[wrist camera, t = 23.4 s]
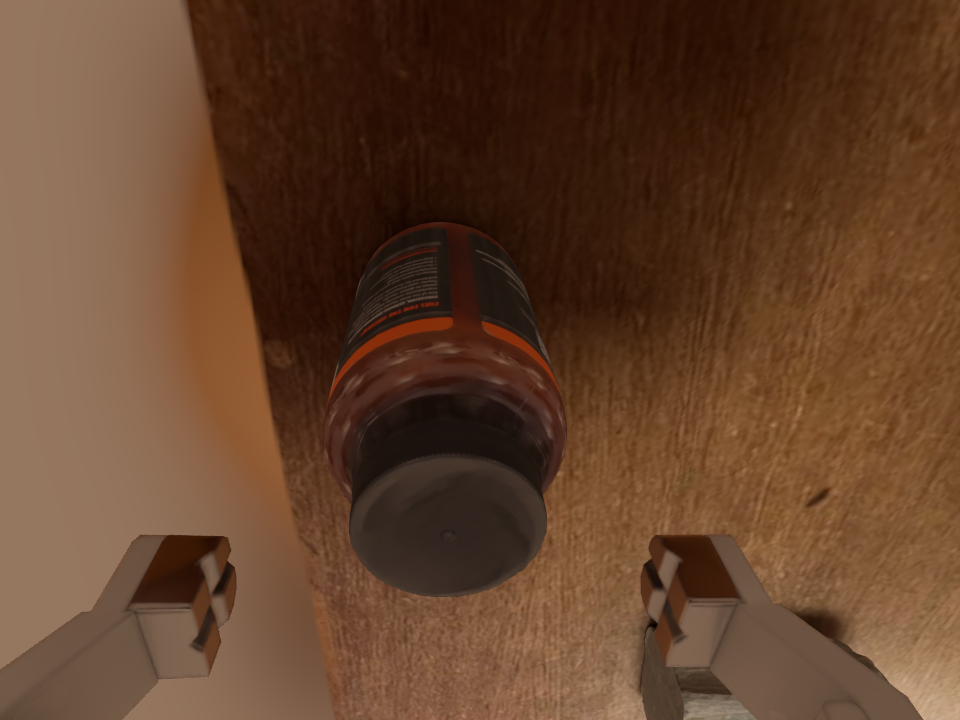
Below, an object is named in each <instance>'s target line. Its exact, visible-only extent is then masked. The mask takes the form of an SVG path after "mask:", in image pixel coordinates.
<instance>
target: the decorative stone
mask: <svg viewBox="0 0 960 720" xmlns="http://www.w3.org/2000/svg"><path fill="white" fill-rule="evenodd" d="M656 628H657V626H655V628H653V627H649V628H648V629H647V631H646V635H647V636H646V637H645V642H644V643H645V648H646V649H645V658H644V663H643V670H642V674H641V676H642V678H641V680H642V685H641V688H640V689H641V692H642V696H643V701H642V702H643V705H644V710H645V714H646V718H647V720H757V719H756V718H755V717H754V716H753V715H752V714H751V713H750V712H749V711H748V710H747V709H746V708H745V707H744V706H743V705H742V703H741V702H740V701H739V700H738V699H737V698H736V697H735V696H734V695H733V694H732V693H731V692H730V691H729V690H728V689H727V688H726V686H725V685H724V684H723V683H722V682H721V681H720V680H719V679H718V678H717V677H716V676H715V675H714V674H713V673H712V672H711V671H710V667H666V665H665V662H664V659H663V657H662V654H661V651H660V648H659V646H658V643H657V640H656V637H655V635H654V634H655V631H656ZM826 638H828V637H826ZM828 639H829V640H831V641H832V642H833V643H835V644H836V645H837V646H839V647H840V648H841V649H843V650H844V651H846V652H847V653H848V654H850V655H851V656H852V657H854V658H855V659H856V660H858V661H859V662H861V663H862V664H863V665H865V666H866V667H867V668H869V669H870V670H871V671H873V672H874V673H876V674H877V675H878V676H880V677H881V678H882V679H884V680H885V681H886V682H888V681H887V679H886V678H885V677H884V675H883V674H882V673H881V672H880V671H879V670H878V669H877V668H876V667H875V666H874V664H873V662H872V661H871V660H870V659H869V658H867V657H865V656H863V655H859V654H857V653H855V652H854V651H852V649H851V648H850V647H849V646H848V645H846V644H844V643H842V642H840V641H837V640H834V639H831V638H828ZM888 683H889V682H888ZM889 684H890V683H889Z"/></svg>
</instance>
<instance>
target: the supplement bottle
mask: <svg viewBox="0 0 960 720" xmlns="http://www.w3.org/2000/svg"><path fill="white" fill-rule="evenodd" d="M566 442H567V426H566V417H565V411H564V406H563V402H562V399H561V395H560V392H559V389H558V386H557V381H556V379H555V376H554V373H553V370H552V367H551V363H550V360H549V357H548V354H547V351H546V348H545V345H544V342H543V339H542V336H541V333H540V330H539V327H538V324H537V321H536V318H535V315H534V312H533V309H532V306H531V303H530V300H529V297H528V294H527V291H526V288H525V285H524V282H523V279H522V276H521V274H520V272H519V270H518V268H517V266H516V264H515V263H514V261H513V259H512V258H511V257H510V256H509V254H508V253H507V252H506V250H505V249H504V248H503V247H502V246H501V245H500V244H499V243H498V242H497V241H495V240H494V239H493V238H491V237H490V236H488V235H487V234H485V233H483V232H481V231H479V230H477V229H475V228H472V227H468V226H465V225H461V224H456V223H449V222H430V223H425V224H420V225H417V226H414V227H411V228H408V229H406V230H403V231H402V232H400V233H398V234H396V235H394V236H393V237H392V238H390V239H389V240H387V241H386V242H385V243H384V244H383V245H381V246H380V247H379V248H378V249H377V251H376V252H375V253H374V255H373V256H372V257H371V259H370V260H369V262H368V264H367V266H366V268H365V270H364V272H363V274H362V277H361V279H360V282H359V286H358V289H357V293H356V297H355V301H354V304H353V308H352V312H351V315H350V319H349V323H348V326H347V330H346V334H345V337H344V341H343V345H342V349H341V353H340V356H339V360H338V364H337V368H336V372H335V376H334V380H333V384H332V387H331V391H330V395H329V400H328V404H327V408H326V411H325V418H324V426H323V450H324V455H325V458H326V461H327V465H328V468H329V470H330V473H331V475H332V477H333V479H334V480H335V482H336V485H337V487H338V488H339V490H340V491H341V492H342V494H343V495H344V496H345V497H346V498H347V499H348V501H349V502H350V503H351V504H352V506H351V512H350V521H349V534H350V541H351V544H352V547H353V549H354V551H355V553H356V555H357V556H358V558H359V560H360V562H361V563H362V564H363V565H364V566H365V567H366V568H367V569H368V570H369V571H370V572H371V573H372V574H373V575H374V576H376V577H377V578H379V579H380V580H382V581H383V582H384V583H386V584H388V585H390V586H392V587H395V588H397V589H400V590H403V591H406V592H410V593H413V594H418V595H423V596H431V597H458V596H464V595H469V594H474V593H478V592H482V591H485V590H489V589H491V588H493V587H496V586H498V585H500V584H502V583H503V582H505V581H506V580H508V579H510V578H511V577H513V576H514V575H516V574H517V573H518V572H520V571H522V570H523V569H524V568H525V567H526V566H527V564H528V563H529V562H530V561H531V560H532V559H533V558H534V557H535V556H536V554H537V553H538V551H539V550H540V548H541V544H542V542H543V540H544V537H545V534H546V526H547V514H546V508H545V503H544V499H543V494H544V493H545V491H546V490H547V489H548V487H549V486H550V484H551V483H552V482H553V480H554V478H555V476H556V474H557V473H558V471H559V468H560V465H561V463H562V460H563V457H564V453H565V450H566Z"/></svg>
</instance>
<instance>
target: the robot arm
mask: <svg viewBox="0 0 960 720" xmlns="http://www.w3.org/2000/svg"><path fill="white" fill-rule="evenodd" d="M230 552H231V548H230V544H229V540H228V538H227V537H224V536H189V535H188V536H187V535H140V536H139V537H137V538H136V539H135V540H134V541H133V542H132V543H131V545H130V547H129V548H128V550H127V552H126V554H125V555H124V557H123V559H122V560H121V562H120V563H119V565H118V567H117V568H116V570H115V572H114V573H113V575H112V577H111V579H110V580H109V582H108V584H107V585H106V587H105V589H104V590H103V592H102V594H101V596H100V597H99V599H98V600H97V602H96V604H95V605H94V607H93V609H92V611H91V612H81V613H80V614H78V615H77V616H75V617H74V618H73V619H72V620H70V621H69V622H67V623H66V624H64V625H63V626H61V627H60V628H58V629H57V630H56V631H54V632H53V633H52V634H50V635H49V636H47V637H46V638H44V639H43V640H42V641H40V642H39V643H38V644H36V645H34V646H33V647H32V648H30V649H29V650H28V651H26V652H25V653H23V654H22V655H21V656H19V657H18V658H16V659H15V660H13V661H12V662H10V663H9V664H8V665H6V666H5V667H3V668H2V669H1V670H0V720H122V719H123V718H124V717H125V716H126V715H127V714H128V713H129V712H130V711H131V710H132V709H133V708H134V707H135V706H136V705H137V704H138V703H139V701H140V700H141V699H142V698H143V697H144V696H145V695H146V694H147V693H148V692H149V691H150V690H151V689H152V688H153V687H154V686H155V685H156V684H157V683H158V680H157V679H174V678H194V677H209V674H210V671H211V669H212V666H213V663H214V660H215V658H216V654H217V652H218V649H219V646H220V643H221V639H220V635H219V630H218V629H219V628H220V627H221V626H222V625H223V624H224V623H225V622H226V621H228V620H229V618H230V615H231V612H232V608H233V606H234V599H235V594H236V573H235V567H234V566H232V565H231V564H230V563H229V562H228V561H227V559H228V557H229V554H230ZM649 552H650V554H651V557H652V558H651V559H650V560H649V561H648V562H646V563H645V564H644V566H643V570H642V574H641V594H642V599H643V603H644V606H645V609H646V612H647V614H648V615H649V616H650V617H651V618H652V619H653V620H655V621H656V622H657V623H658V625H657V628H656V631H655V634H654V635H655V637H656V640H657V643H658V646H659V648H660V651H661V654H662V657H663V659H664V662H665V665H666V667H710V671H711V672H712V673H713V674H714V675H715V676H716V677H717V678H718V679H719V680H720V681H721V682H722V683H723V684H724V685H725V686H726V688H727V689H728V690H729V691H730V692H731V693H732V694H733V695H734V696H735V697H736V698H737V699H738V700H739V701H740V702H741V703H742V705H743V706H744V707H745V708H746V709H747V710H748V711H749V712H750V713H751V714H752V715H753V716H754V717H755V718H756V719H757V720H923V719H922V717H921V716H920V714H919V713H918V711H917V710H916V709H915V707H914V706H913V704H912V703H911V701H910V700H909V699H908V697H907V696H906V695H904V694H903V693H901V692H900V691H899V690H897V689H896V688H895V687H893V686H892V685H891V684H889V683H888V682H886V681H885V680H884V679H882V678H881V677H880V676H878V675H877V674H876V673H874V672H873V671H871V670H870V669H869V668H867V667H866V666H865V665H863V664H862V663H861V662H859V661H858V660H856V659H855V658H854V657H852V656H851V655H850V654H848V653H847V652H846V651H844V650H843V649H841V648H840V647H839V646H837V645H836V644H835V643H833V642H832V641H831V640H829V639H828V638H826V637H825V636H824V635H822V634H821V633H820V632H818V631H817V630H816V629H814V628H813V627H811V626H810V625H809V624H807V623H806V622H805V621H803V620H802V619H801V618H799V617H798V616H796V615H795V614H794V613H792V612H791V611H790V610H788V609H787V608H786V607H784V606H783V605H781V604H774V603H772V601H771V600H770V598H769V596H768V595H767V593H766V591H765V589H764V588H763V586H762V584H761V583H760V581H759V579H758V578H757V576H756V574H755V573H754V571H753V569H752V567H751V566H750V564H749V562H748V561H747V559H746V557H745V556H744V554H743V552H742V550H741V549H740V547H739V545H738V544H737V542H736V540H735V539H734V538H733V537H732V536H731V535H655V536H654V537H653V538H652V539H651V542H650V545H649Z"/></svg>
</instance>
